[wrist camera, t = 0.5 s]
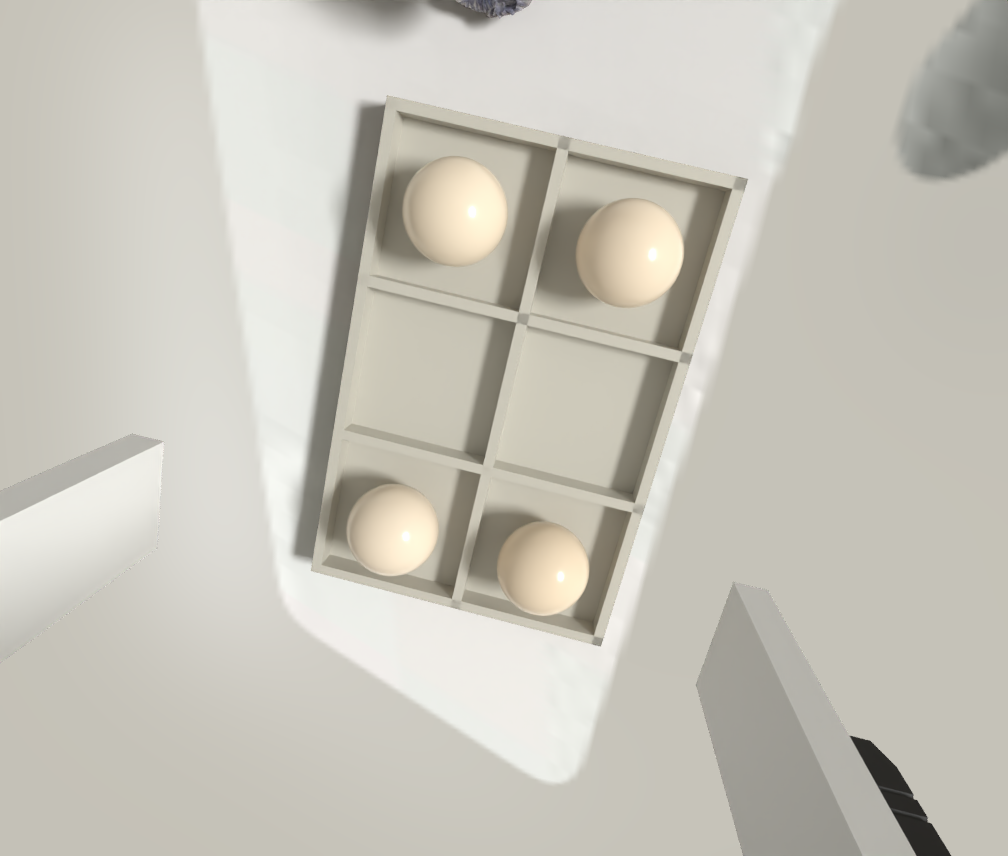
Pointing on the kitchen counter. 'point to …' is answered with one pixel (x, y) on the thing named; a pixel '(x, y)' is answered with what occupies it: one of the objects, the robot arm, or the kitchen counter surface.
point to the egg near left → (455, 211)
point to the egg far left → (392, 529)
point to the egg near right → (629, 253)
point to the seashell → (496, 6)
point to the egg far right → (543, 568)
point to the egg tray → (514, 364)
